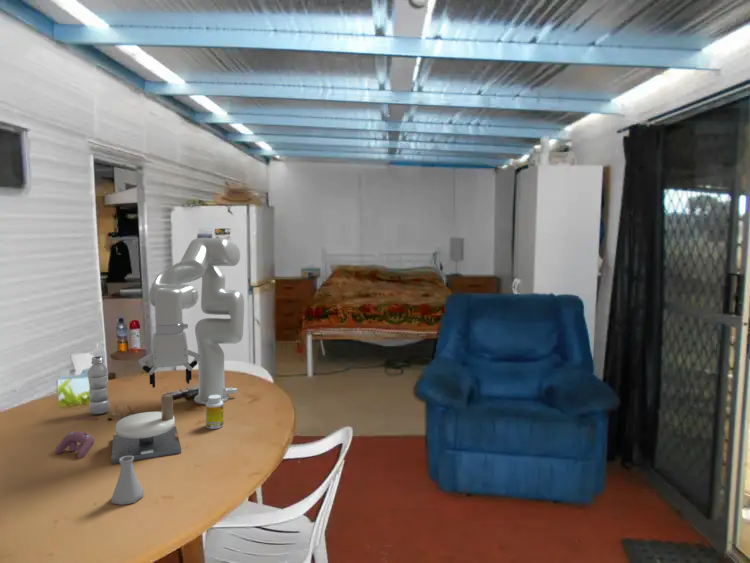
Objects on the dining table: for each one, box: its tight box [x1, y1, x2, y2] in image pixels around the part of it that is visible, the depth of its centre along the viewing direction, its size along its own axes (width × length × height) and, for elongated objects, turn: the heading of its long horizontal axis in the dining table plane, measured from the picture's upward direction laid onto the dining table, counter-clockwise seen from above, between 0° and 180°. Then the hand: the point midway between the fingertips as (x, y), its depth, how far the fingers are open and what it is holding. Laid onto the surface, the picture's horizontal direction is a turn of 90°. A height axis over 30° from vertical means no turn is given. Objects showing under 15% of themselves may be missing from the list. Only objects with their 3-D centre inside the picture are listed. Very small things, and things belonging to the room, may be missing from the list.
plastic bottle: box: [87, 356, 111, 415], centre depth 176 cm, size 6×7×20 cm
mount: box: [111, 425, 182, 465], centre depth 150 cm, size 18×18×6 cm
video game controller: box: [54, 430, 95, 459], centre depth 145 cm, size 10×5×7 cm, turn 72°
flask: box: [110, 456, 144, 506], centre depth 121 cm, size 7×7×10 cm
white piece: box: [115, 394, 176, 438], centre depth 150 cm, size 16×16×9 cm
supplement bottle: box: [205, 395, 224, 430], centre depth 167 cm, size 6×6×10 cm
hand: (170, 384), depth 153 cm, fingers open, 9 cm apart
